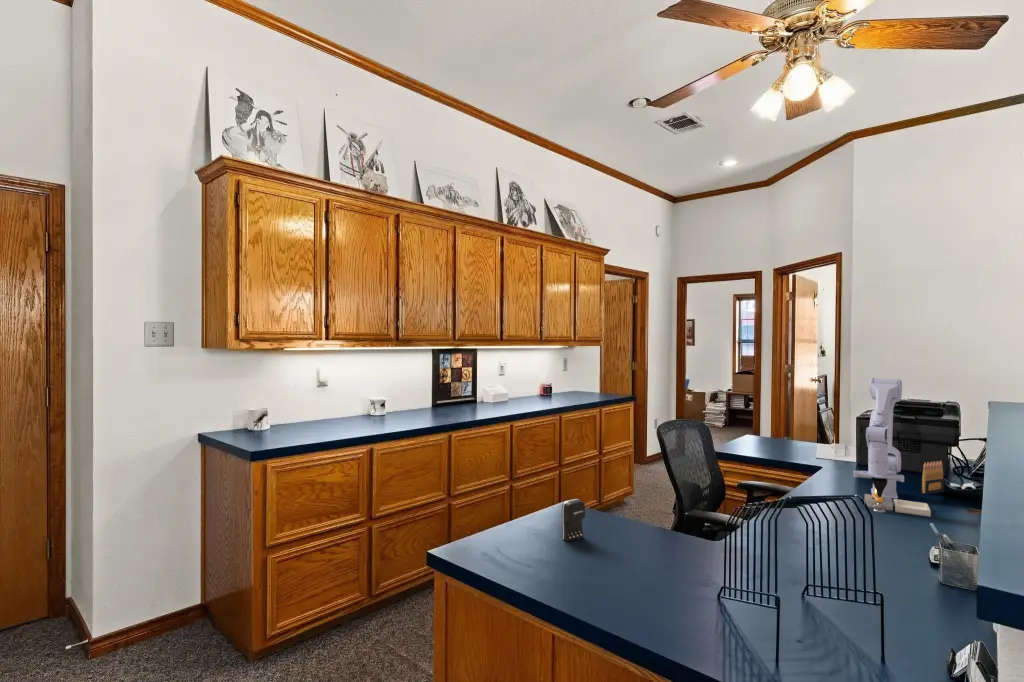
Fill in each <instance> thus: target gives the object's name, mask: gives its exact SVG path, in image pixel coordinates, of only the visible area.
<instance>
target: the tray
mask: <svg viewBox="0 0 1024 682" xmlns="http://www.w3.org/2000/svg"><path fill="white" fill-rule="evenodd" d="M892 502H893V509H894V512H896V513H901V514H902V513H903V514H908V515H916V516H922V517H923V516H924V517H931V516H932V515H931V514H932V511H931V509H930V507H929V504H928V503H926V502H919V501H911V500H903V499H895V498H893V500H892Z"/></svg>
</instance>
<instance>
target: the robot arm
mask: <svg viewBox="0 0 1024 682" xmlns="http://www.w3.org/2000/svg"><path fill="white" fill-rule="evenodd" d="M868 384H869V385H868V389H869V390H868V391H869V393H870V396H871V399H872V400H874V401H875V409H873V410H872V411H871V412H870V418H869V425H868V426H867V427H866V429H865V439H866V446H867V448H868V450H867V453H868V455H867V457H868V458H867V464H868V467H867V469H868V470H853V478H865V479H870V480H871V482H872V487H871V489H870V491H871V494H872V493H874V487H875V488H876V491H877V494H878V497H881V496H885V497H891V498H892V499H897V500H899V496H898V493H897V482H901V483H904V482H905V476H904V475H903V474H898V473H900V472H901V471H902V454H901V452H900V450H899V449H898V448H896V447H894V446H893V430H894V427H893V426H894V408H895V404H896V403H898V402H901V399H902V398H903V397H902V395H903V381H902V379H900V378H877V377H876V378H875V377H871V378H870V379H869V383H868ZM882 493H883V495H882Z"/></svg>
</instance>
